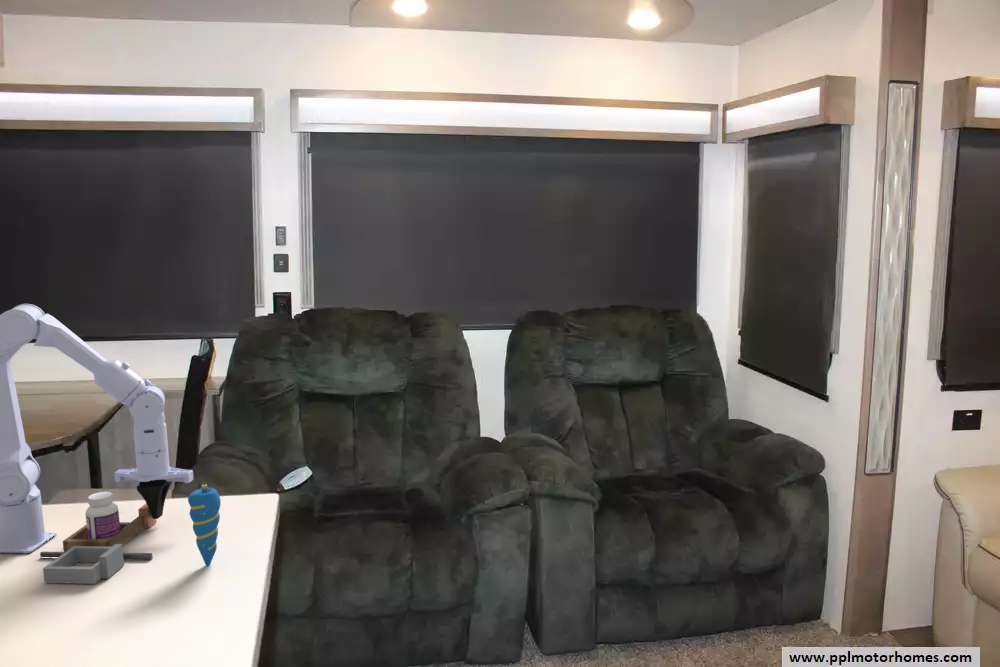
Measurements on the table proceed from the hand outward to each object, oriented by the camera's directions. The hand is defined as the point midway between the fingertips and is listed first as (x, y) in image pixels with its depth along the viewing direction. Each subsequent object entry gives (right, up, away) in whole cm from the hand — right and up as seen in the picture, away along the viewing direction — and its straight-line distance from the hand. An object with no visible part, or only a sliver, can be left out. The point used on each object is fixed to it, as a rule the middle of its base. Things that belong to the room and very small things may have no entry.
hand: (157, 516), depth 151 cm
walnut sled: (-6, -3, -5) cm, 8 cm away
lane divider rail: (-5, -4, -13) cm, 15 cm away
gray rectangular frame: (-4, -5, -19) cm, 20 cm away
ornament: (+16, -5, -16) cm, 23 cm away
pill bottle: (-6, -4, -8) cm, 11 cm away
